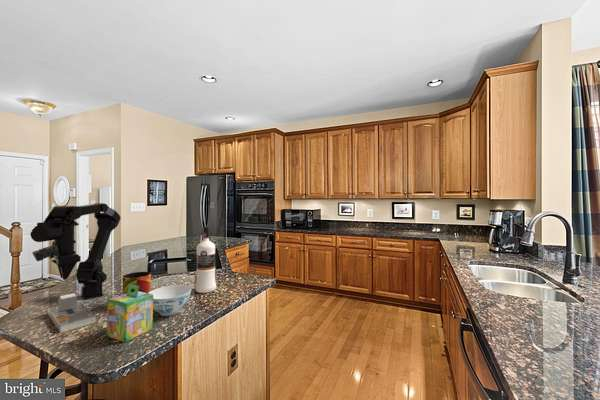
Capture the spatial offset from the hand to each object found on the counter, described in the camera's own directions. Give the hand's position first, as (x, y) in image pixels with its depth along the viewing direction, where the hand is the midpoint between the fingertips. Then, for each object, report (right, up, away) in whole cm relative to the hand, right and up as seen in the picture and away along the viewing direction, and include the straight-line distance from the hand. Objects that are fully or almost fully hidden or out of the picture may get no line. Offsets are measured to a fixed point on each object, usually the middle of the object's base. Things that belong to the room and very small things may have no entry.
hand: (64, 278), depth 98 cm
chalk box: (+38, -12, -18) cm, 43 cm away
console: (+9, -12, -7) cm, 17 cm away
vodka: (+47, -12, +22) cm, 53 cm away
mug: (+24, -12, +7) cm, 28 cm away
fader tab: (+5, -10, -4) cm, 12 cm away
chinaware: (+42, -12, -2) cm, 44 cm away
